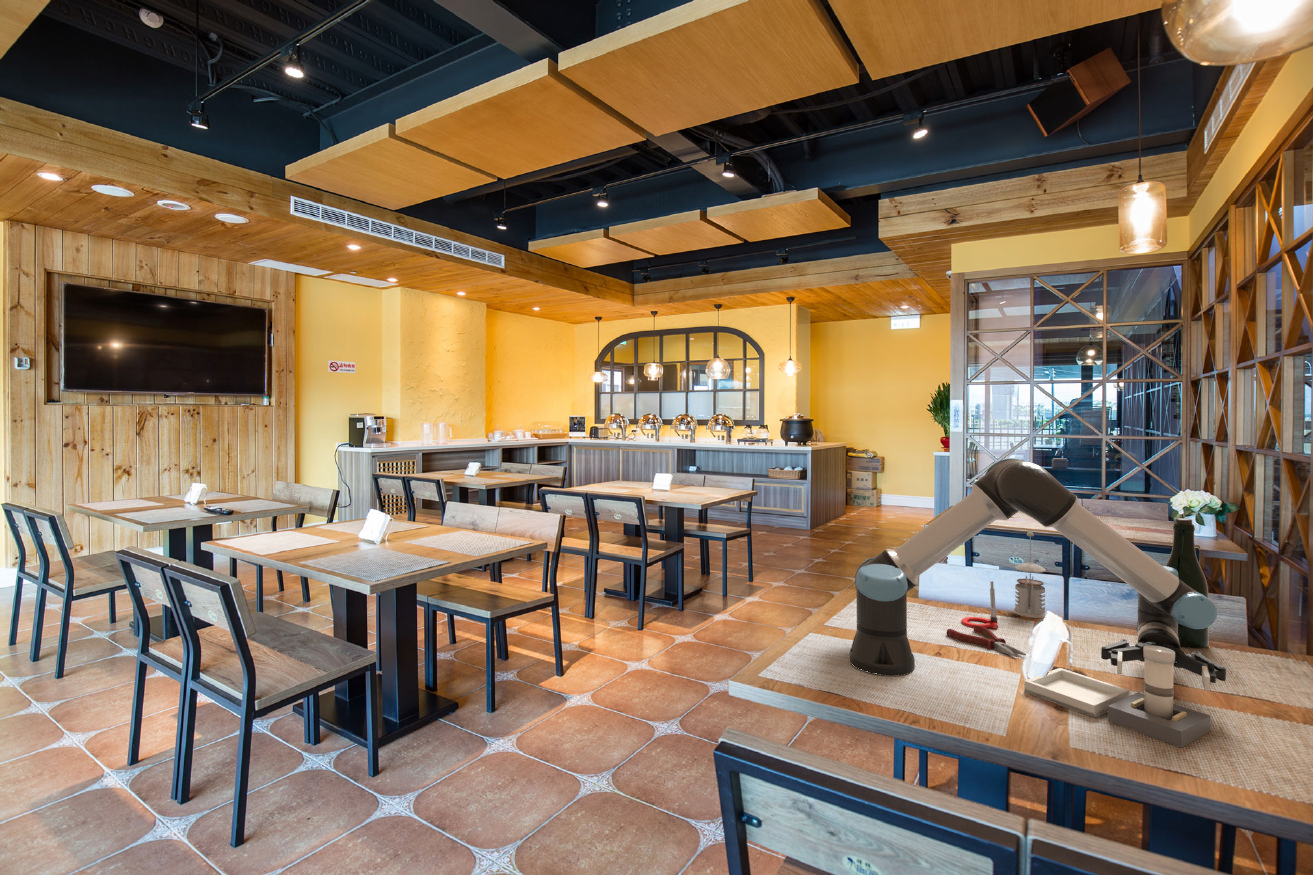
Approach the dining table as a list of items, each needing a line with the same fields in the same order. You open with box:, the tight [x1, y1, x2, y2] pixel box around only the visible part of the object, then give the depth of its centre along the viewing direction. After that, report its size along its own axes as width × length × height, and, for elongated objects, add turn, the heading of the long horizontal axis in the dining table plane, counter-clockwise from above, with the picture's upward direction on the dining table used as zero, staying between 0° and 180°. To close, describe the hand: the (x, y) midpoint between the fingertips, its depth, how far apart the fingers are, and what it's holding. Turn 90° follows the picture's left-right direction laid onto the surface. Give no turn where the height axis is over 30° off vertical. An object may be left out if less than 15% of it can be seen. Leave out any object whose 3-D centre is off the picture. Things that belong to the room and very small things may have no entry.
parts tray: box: [1023, 667, 1130, 719], centre depth 136 cm, size 14×14×2 cm
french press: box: [1011, 531, 1047, 619], centre depth 193 cm, size 10×12×25 cm
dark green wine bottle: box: [1165, 517, 1210, 650], centre depth 166 cm, size 10×10×33 cm
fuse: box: [1143, 645, 1175, 720], centre depth 123 cm, size 5×5×15 cm
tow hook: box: [961, 580, 999, 630], centre depth 184 cm, size 8×13×9 cm
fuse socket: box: [1107, 692, 1212, 749], centre depth 123 cm, size 12×12×4 cm
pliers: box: [946, 625, 1027, 658], centre depth 167 cm, size 12×20×3 cm, turn 17°
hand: (1162, 675), depth 125 cm, fingers open, 13 cm apart
